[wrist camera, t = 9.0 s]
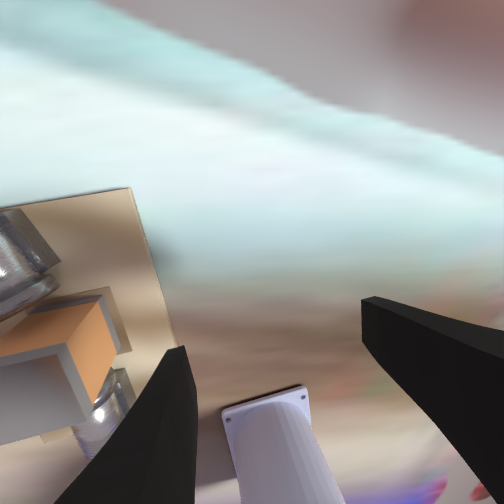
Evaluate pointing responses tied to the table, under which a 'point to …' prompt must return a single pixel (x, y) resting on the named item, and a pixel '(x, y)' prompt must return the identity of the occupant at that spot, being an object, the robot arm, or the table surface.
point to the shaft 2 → (106, 412)
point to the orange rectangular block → (54, 367)
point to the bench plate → (105, 276)
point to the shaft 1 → (23, 264)
